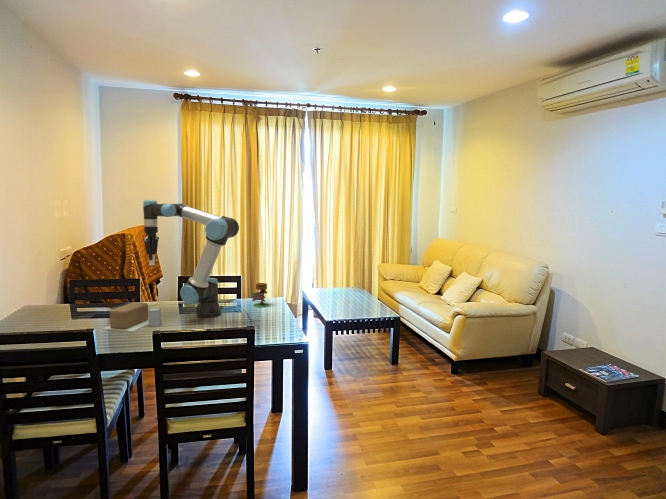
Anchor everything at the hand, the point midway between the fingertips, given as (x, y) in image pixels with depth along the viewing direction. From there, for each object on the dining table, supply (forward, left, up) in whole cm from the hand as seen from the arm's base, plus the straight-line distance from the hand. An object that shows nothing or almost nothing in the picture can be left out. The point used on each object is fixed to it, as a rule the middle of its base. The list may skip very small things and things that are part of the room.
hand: (152, 265), depth 252 cm
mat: (0, +22, -31) cm, 38 cm away
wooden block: (+1, +11, -25) cm, 27 cm away
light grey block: (-13, +18, -31) cm, 38 cm away
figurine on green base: (-56, -39, -31) cm, 75 cm away
